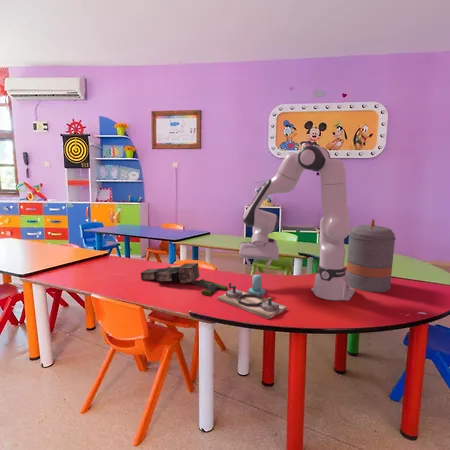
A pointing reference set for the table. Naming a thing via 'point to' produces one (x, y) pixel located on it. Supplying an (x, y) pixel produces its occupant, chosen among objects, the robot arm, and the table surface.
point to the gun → (209, 286)
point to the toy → (173, 273)
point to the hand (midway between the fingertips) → (258, 265)
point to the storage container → (370, 257)
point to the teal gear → (257, 286)
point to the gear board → (252, 303)
